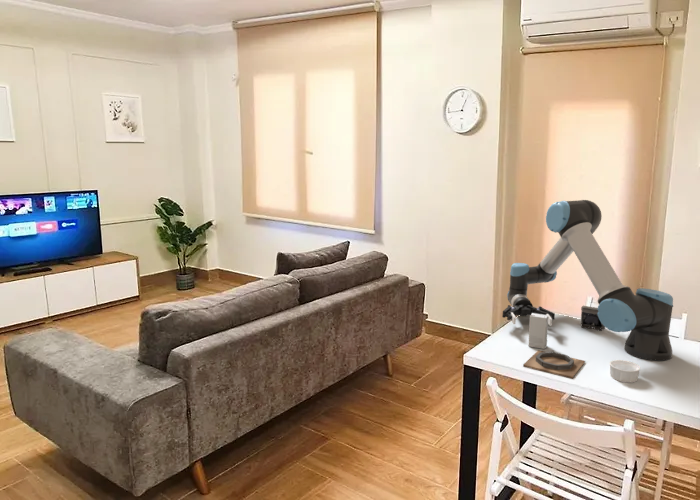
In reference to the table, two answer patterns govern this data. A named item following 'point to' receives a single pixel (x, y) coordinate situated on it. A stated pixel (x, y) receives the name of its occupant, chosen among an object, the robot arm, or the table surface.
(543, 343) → the skincare box
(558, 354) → the wooden board with ring
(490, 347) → the table surface
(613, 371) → the ramekin
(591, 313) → the electrical switch
